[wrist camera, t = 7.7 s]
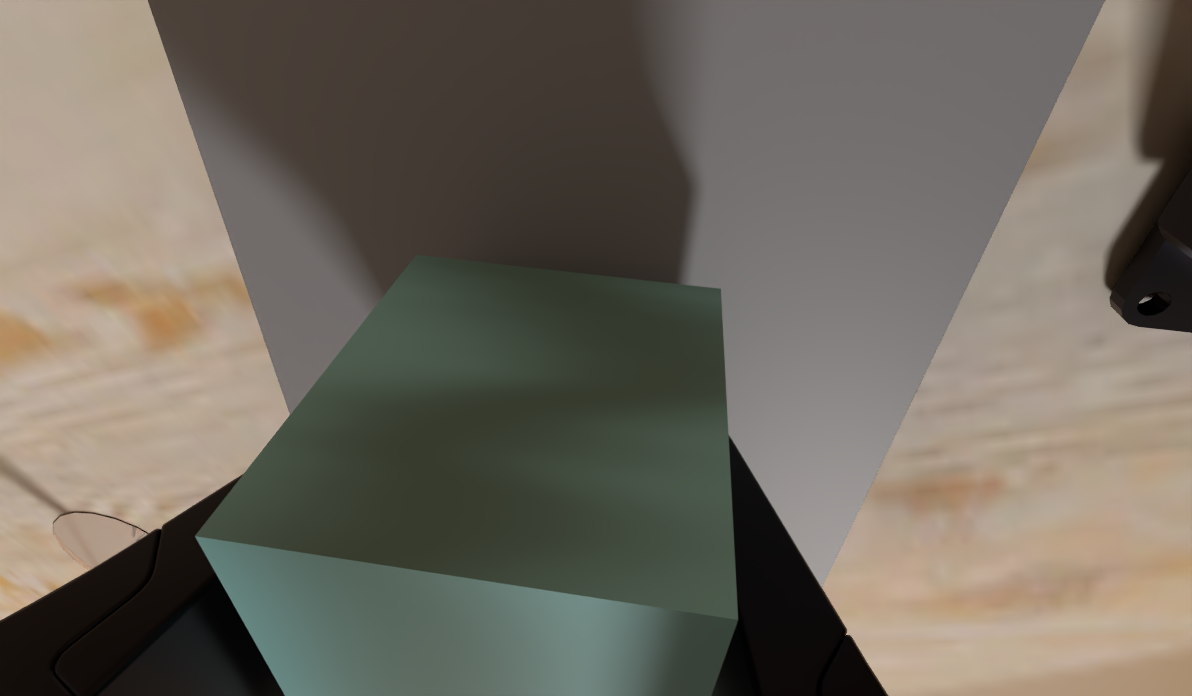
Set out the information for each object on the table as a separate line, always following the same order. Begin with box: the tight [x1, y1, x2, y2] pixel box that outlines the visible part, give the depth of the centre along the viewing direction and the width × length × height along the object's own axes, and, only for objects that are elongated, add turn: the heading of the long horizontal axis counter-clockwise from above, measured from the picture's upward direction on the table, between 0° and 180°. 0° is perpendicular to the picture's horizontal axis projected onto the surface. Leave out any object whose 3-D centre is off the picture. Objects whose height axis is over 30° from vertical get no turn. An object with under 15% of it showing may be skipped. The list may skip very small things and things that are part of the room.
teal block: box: [195, 255, 738, 696], centre depth 8 cm, size 4×4×5 cm
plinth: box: [148, 0, 1105, 587], centre depth 12 cm, size 12×12×2 cm
